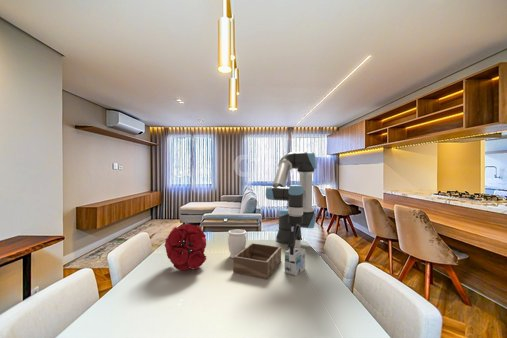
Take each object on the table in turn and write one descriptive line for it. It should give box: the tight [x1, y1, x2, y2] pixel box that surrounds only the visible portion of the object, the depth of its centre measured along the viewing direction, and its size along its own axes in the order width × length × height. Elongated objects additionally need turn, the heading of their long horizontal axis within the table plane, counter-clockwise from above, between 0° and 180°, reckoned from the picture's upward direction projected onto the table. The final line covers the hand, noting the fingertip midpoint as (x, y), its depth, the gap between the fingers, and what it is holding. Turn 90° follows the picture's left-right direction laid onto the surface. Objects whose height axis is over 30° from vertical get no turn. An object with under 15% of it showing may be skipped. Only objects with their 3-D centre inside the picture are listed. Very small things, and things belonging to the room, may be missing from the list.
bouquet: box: [164, 223, 207, 271], centre depth 126 cm, size 22×24×30 cm
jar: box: [227, 229, 247, 259], centre depth 139 cm, size 11×10×15 cm
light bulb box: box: [284, 247, 306, 277], centre depth 121 cm, size 11×7×11 cm, turn 143°
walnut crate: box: [232, 242, 282, 280], centre depth 125 cm, size 24×18×8 cm
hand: (295, 256), depth 121 cm, fingers open, 13 cm apart
